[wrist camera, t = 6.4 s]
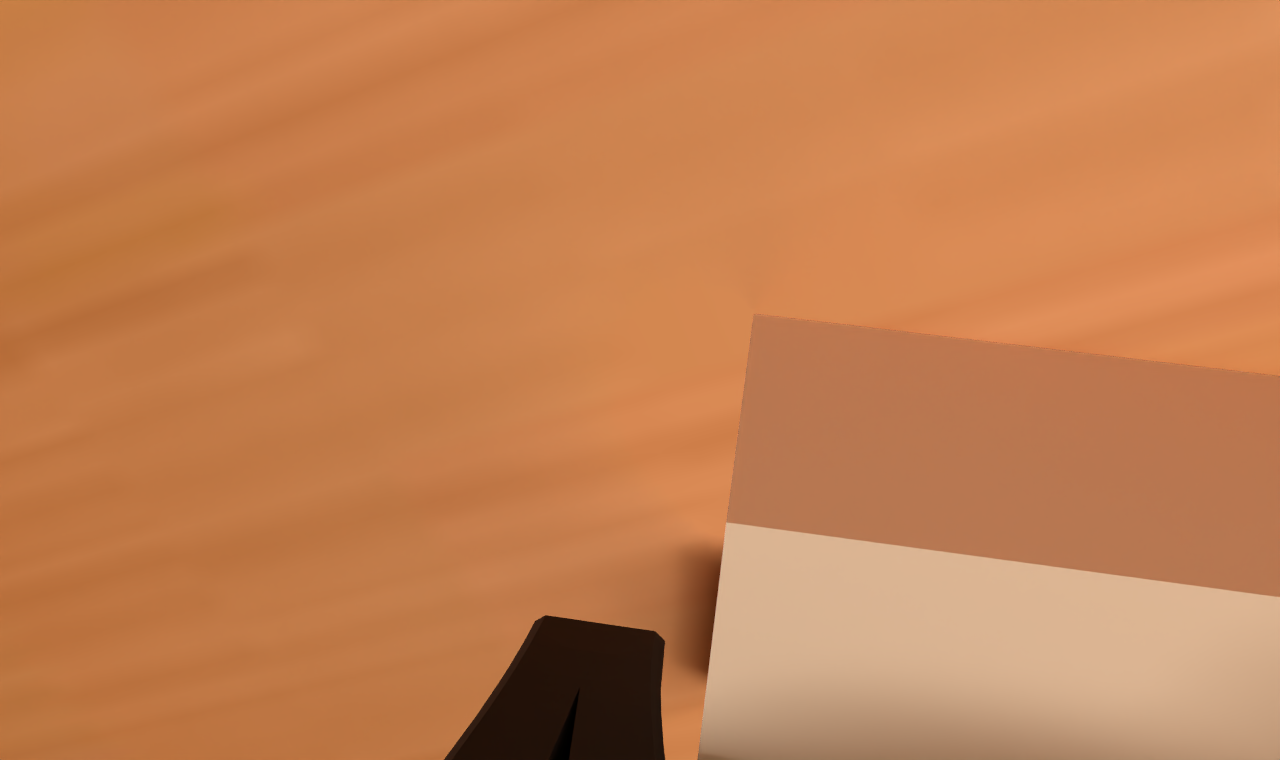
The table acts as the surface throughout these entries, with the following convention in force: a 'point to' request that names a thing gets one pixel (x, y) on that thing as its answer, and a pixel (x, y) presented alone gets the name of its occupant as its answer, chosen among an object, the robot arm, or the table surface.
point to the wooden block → (995, 555)
